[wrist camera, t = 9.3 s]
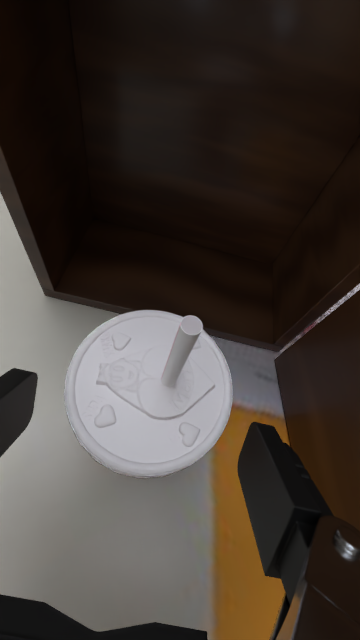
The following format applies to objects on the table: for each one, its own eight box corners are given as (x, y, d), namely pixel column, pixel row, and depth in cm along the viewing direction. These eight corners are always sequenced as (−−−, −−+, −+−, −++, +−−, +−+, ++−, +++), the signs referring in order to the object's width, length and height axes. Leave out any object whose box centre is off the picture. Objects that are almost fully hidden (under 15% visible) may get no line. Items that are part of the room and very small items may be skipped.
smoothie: (185, 482, 17) (320, 486, 5) (80, 476, 16) (-39, 463, 4) (188, 383, 20) (277, 248, 9) (101, 374, 20) (66, 211, 8)
